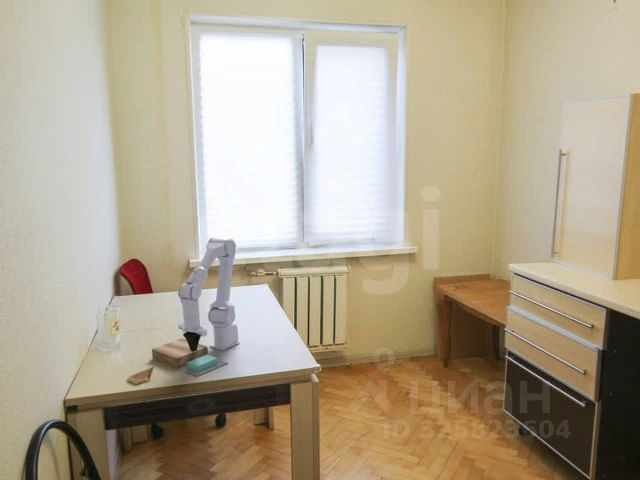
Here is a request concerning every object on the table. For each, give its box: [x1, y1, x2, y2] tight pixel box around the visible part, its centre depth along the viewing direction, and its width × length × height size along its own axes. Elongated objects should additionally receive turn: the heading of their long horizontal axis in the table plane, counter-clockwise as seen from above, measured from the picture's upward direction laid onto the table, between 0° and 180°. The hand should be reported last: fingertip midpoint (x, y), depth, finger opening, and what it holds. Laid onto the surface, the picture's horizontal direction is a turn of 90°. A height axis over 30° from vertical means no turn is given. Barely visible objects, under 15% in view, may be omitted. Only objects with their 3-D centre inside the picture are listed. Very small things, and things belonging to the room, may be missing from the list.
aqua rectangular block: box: [187, 354, 219, 371], centre depth 183 cm, size 9×6×2 cm, turn 141°
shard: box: [126, 366, 154, 385], centre depth 176 cm, size 11×8×2 cm
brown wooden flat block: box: [151, 337, 209, 370], centre depth 192 cm, size 14×16×4 cm
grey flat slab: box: [177, 358, 229, 378], centre depth 183 cm, size 14×11×1 cm
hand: (193, 350), depth 186 cm, fingers closed
